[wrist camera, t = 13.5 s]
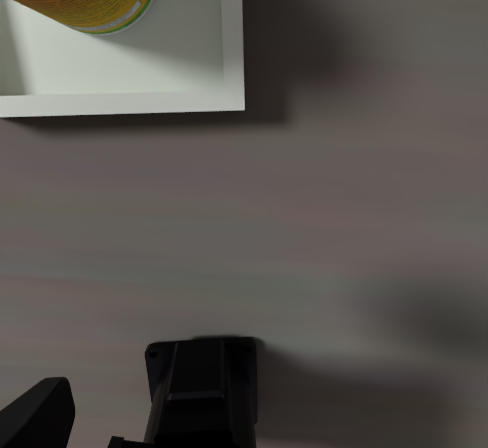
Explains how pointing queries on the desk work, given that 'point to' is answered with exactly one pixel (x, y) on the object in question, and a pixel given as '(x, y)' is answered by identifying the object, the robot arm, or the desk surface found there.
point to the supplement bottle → (92, 13)
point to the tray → (124, 62)
